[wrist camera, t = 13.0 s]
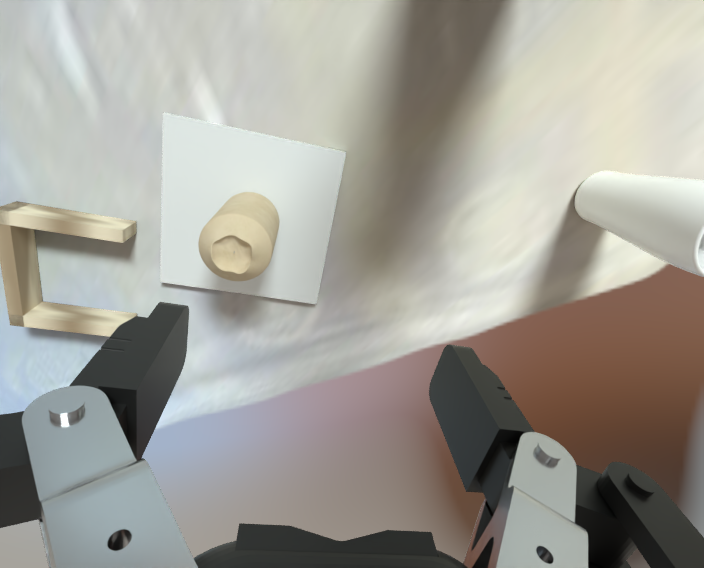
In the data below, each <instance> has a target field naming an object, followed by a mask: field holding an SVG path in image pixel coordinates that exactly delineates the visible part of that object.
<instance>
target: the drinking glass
mask: <svg viewBox="0 0 704 568" xmlns="http://www.w3.org/2000/svg"><path fill="white" fill-rule="evenodd" d="M575 209H576V211H577V213H578V215H579V216H580V217H581V218H582V219H584V220H586V221H588V222H591V223H593V224H596V225H598V226H599V227H601V228H603V229H605V230H607V231H609V232H611V233H612V234H614V235H616V236H618V237H620V238H622V239H623V240H625V241H627V242H629V243H631V244H632V245H634V246H636V247H638V248H640V249H641V250H643V251H645V252H647V253H649V254H651V255H652V256H654V257H656V258H658V259H660V260H662V261H665V262H667V263H669V264H672V265H674V266H676V267H678V268H681V269H683V270H686V271H688V272H691V273H694V274H696V275H699V276H702V277H704V180H701V179H690V178H677V177H664V176H652V175H640V174H629V173H621V172H616V171H600V172H597V173H595V174H593V175H591V176H589V177H588V178H587V179H586V180H585V181H584V182H583V183H582V184H581V185H580V187H579V188H578V190H577V193H576V196H575Z"/></svg>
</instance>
